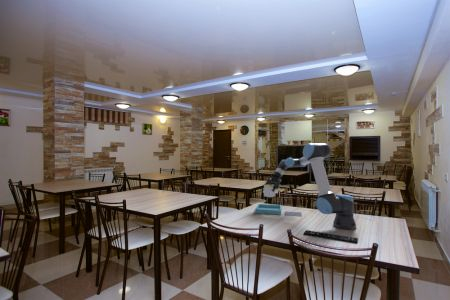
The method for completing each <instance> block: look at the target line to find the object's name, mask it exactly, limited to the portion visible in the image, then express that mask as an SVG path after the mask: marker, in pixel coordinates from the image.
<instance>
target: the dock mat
mask: <svg viewBox="0 0 450 300" xmlns="http://www.w3.org/2000/svg"><path fill="white" fill-rule="evenodd" d="M287 216H288V217H303V215H302V212H300V211H284V217H287Z"/></svg>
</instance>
